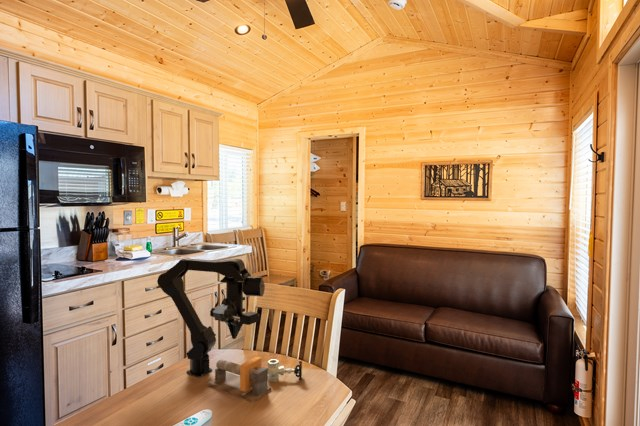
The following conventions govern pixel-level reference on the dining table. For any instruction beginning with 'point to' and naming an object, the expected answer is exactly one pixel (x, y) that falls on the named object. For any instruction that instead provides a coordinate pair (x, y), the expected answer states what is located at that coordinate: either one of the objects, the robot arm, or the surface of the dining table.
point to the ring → (244, 373)
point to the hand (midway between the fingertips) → (234, 338)
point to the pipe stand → (232, 382)
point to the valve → (281, 370)
